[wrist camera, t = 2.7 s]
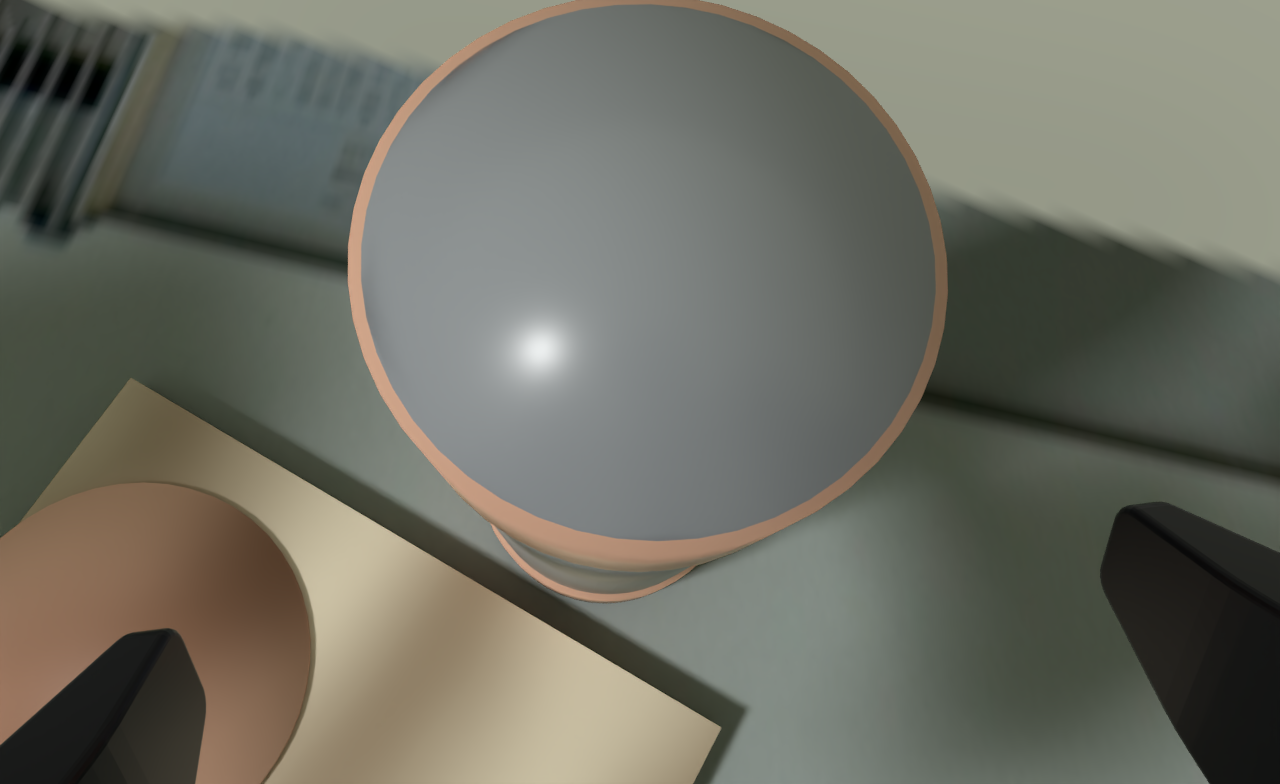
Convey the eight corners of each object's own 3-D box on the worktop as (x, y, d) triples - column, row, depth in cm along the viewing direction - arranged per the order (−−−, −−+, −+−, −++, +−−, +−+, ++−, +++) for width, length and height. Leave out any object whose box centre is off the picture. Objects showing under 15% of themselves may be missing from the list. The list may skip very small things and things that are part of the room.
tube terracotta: (760, 444, 19) (1036, 162, 8) (649, 648, 18) (781, 680, 6) (565, 334, 20) (550, -94, 8) (444, 527, 18) (220, 350, 7)
